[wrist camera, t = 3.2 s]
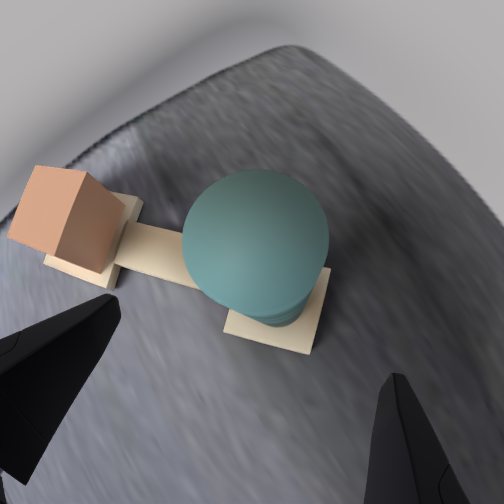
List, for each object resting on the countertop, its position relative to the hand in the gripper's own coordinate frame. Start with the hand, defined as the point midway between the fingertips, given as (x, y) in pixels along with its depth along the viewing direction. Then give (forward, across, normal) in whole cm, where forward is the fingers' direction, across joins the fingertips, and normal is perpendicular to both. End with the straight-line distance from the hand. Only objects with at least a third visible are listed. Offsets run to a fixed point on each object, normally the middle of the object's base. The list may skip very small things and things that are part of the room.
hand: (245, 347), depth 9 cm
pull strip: (+9, +7, +4) cm, 12 cm away
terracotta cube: (+8, +14, +4) cm, 17 cm away
